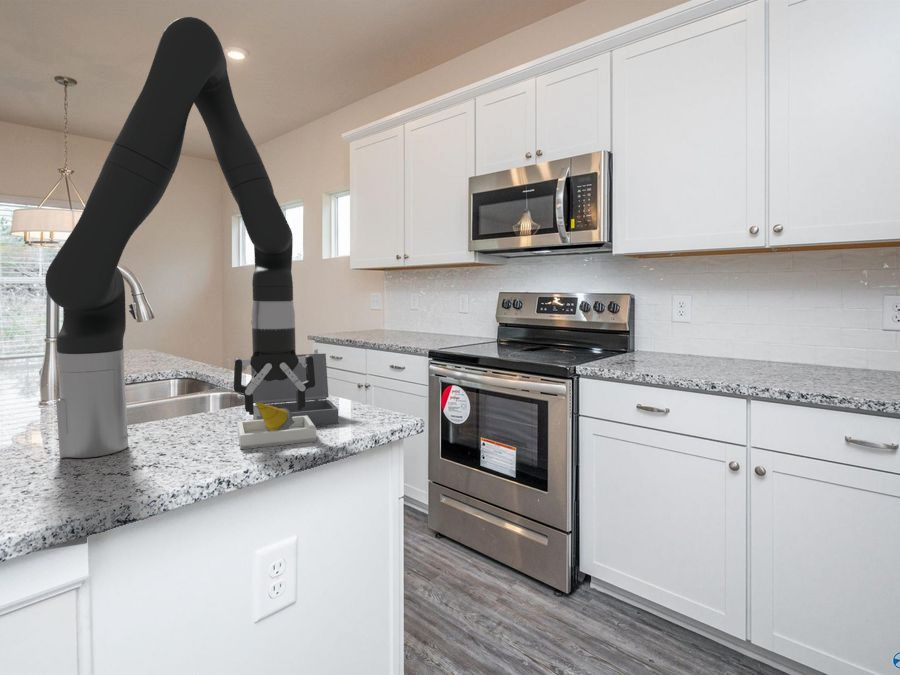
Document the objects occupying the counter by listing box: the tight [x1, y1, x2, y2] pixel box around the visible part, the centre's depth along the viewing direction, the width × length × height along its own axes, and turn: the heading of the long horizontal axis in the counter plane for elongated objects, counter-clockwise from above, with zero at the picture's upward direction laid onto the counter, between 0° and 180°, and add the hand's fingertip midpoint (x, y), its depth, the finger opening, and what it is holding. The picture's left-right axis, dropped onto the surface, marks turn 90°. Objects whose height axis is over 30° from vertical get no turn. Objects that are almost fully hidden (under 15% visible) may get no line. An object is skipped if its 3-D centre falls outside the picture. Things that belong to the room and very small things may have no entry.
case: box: [252, 399, 339, 427], centre depth 110 cm, size 16×10×3 cm, turn 114°
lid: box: [250, 352, 329, 405], centre depth 115 cm, size 16×10×1 cm
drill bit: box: [254, 402, 295, 431], centre depth 97 cm, size 5×5×10 cm
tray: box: [237, 415, 317, 450], centre depth 98 cm, size 13×10×2 cm
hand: (275, 412), depth 97 cm, fingers open, 8 cm apart
